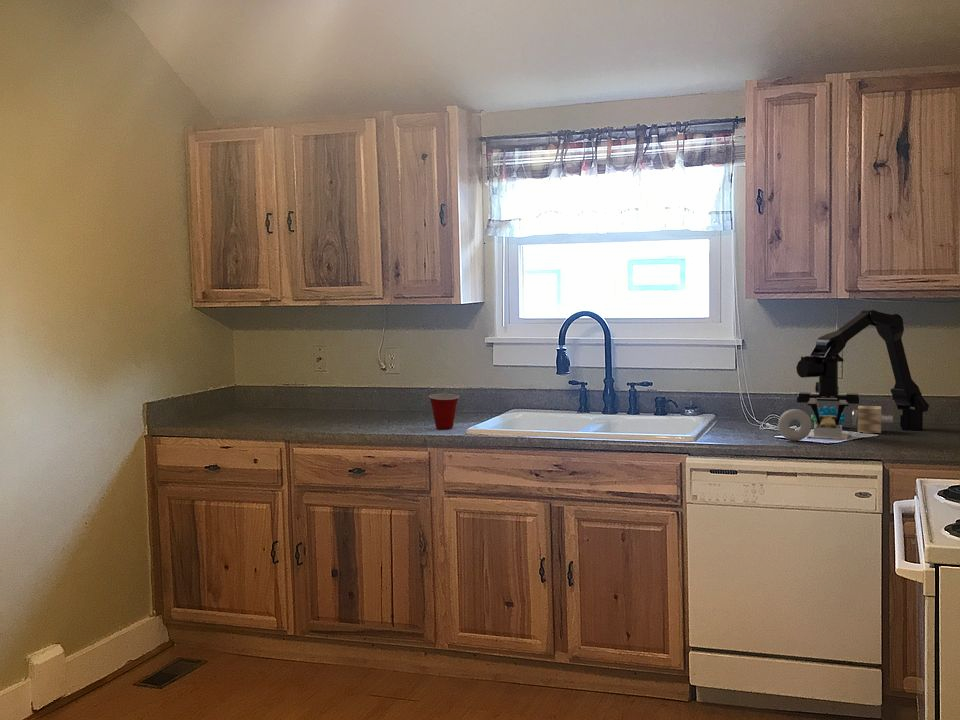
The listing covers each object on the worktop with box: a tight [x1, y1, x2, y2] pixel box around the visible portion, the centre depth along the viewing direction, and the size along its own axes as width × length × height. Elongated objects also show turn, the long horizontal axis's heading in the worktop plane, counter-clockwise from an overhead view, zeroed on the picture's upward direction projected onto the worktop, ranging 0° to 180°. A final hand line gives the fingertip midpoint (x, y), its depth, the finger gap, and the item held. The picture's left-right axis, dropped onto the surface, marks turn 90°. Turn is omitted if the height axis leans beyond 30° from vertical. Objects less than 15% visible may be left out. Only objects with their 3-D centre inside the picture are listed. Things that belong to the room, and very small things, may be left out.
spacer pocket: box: [806, 424, 850, 440], centre depth 318 cm, size 12×12×3 cm
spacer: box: [820, 415, 837, 428], centre depth 318 cm, size 5×5×4 cm
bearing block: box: [857, 405, 882, 434], centre depth 326 cm, size 7×8×8 cm
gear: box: [810, 405, 846, 428], centre depth 338 cm, size 11×6×10 cm
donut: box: [777, 408, 813, 442], centre depth 310 cm, size 10×4×10 cm, turn 77°
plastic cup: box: [428, 393, 460, 431], centre depth 352 cm, size 11×11×12 cm
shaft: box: [851, 409, 894, 426], centre depth 326 cm, size 12×5×5 cm, turn 67°
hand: (828, 425), depth 318 cm, fingers open, 5 cm apart
